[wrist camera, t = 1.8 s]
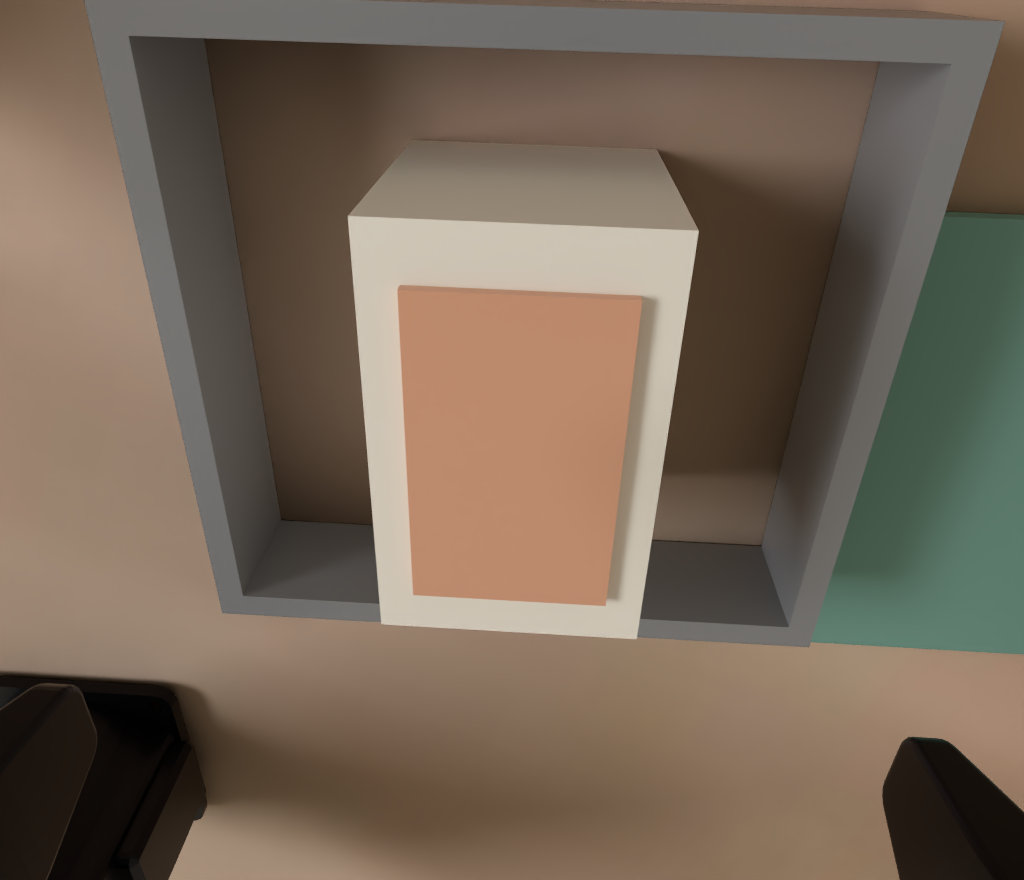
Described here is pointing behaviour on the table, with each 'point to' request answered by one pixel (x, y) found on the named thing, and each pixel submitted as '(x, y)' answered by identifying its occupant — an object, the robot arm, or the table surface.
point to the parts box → (518, 379)
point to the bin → (567, 27)
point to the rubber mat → (945, 464)
